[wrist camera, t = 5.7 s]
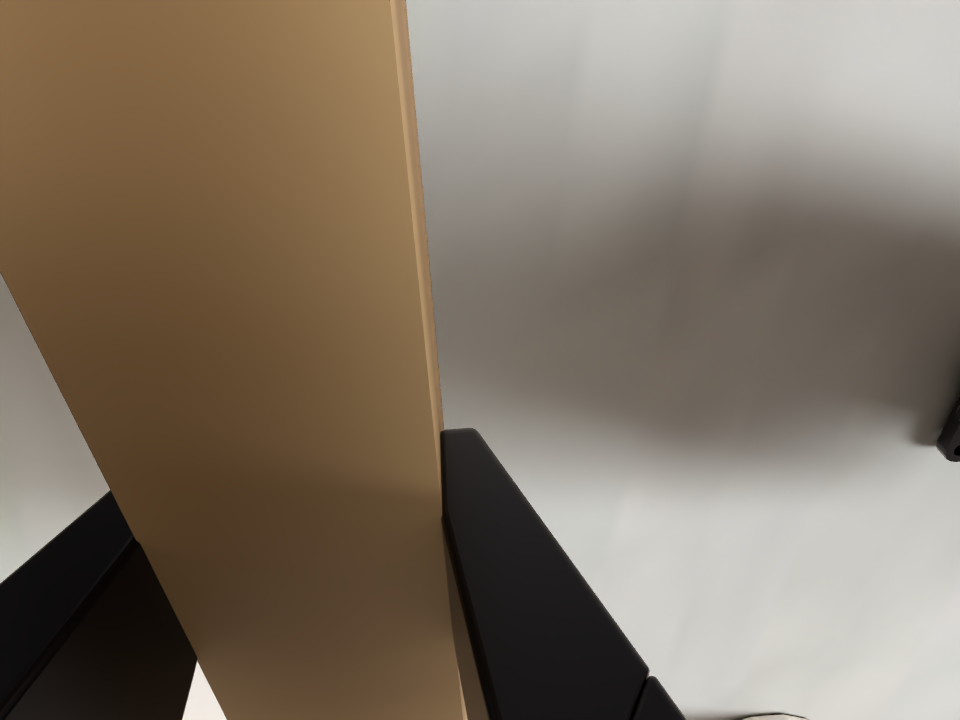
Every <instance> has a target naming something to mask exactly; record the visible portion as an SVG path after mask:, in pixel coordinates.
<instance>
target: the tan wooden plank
mask: <svg viewBox="0 0 960 720" xmlns="http://www.w3.org/2000/svg"><path fill="white" fill-rule="evenodd" d="M0 272H1V274H2V276H3V278H4V280H5V282H6V284H7V286H8V288H9V290H10V292H11V294H12V296H13V298H14V300H15V302H16V304H17V306H18V308H19V310H20V312H21V314H22V316H23V318H24V320H25V322H26V324H27V326H28V328H29V330H30V332H31V334H32V336H33V338H34V340H35V342H36V344H37V346H38V348H39V350H40V352H41V353H42V355H43V357H44V359H45V361H46V363H47V365H48V367H49V369H50V371H51V373H52V375H53V377H54V379H55V381H56V383H57V385H58V387H59V389H60V391H61V393H62V395H63V397H64V399H65V401H66V403H67V405H68V407H69V409H70V411H71V413H72V415H73V417H74V419H75V421H76V423H77V425H78V427H79V429H80V431H81V433H82V434H83V436H84V438H85V440H86V442H87V444H88V446H89V448H90V450H91V452H92V454H93V456H94V458H95V460H96V462H97V464H98V466H99V468H100V470H101V472H102V474H103V476H104V478H105V480H106V482H107V484H108V486H109V488H110V490H111V492H112V494H113V496H114V498H115V500H116V502H117V504H118V506H119V508H120V510H121V512H122V514H123V516H124V517H125V519H126V521H127V523H128V525H129V527H130V529H131V531H132V533H133V535H134V537H135V539H136V541H138V542H139V543H140V544H141V546H142V548H143V550H144V552H145V554H146V556H147V558H148V560H149V562H150V564H151V566H152V568H153V570H154V572H155V574H156V576H157V578H158V580H159V582H160V584H161V586H162V588H163V590H164V592H165V594H166V596H167V598H168V600H169V602H170V604H171V606H172V608H173V610H174V612H175V614H176V616H177V618H178V620H179V622H180V624H181V626H182V628H183V630H184V632H185V634H186V636H187V638H188V640H189V642H190V644H191V646H192V648H193V650H194V651H195V653H196V655H197V658H198V660H197V662H198V664H199V666H200V668H201V670H202V672H203V674H204V676H205V678H206V679H207V681H208V683H209V685H210V687H211V689H212V691H213V693H214V695H215V697H216V699H217V701H218V703H219V705H220V707H221V709H222V711H223V713H224V715H225V717H226V719H227V720H468V719H467V713H466V708H465V702H464V697H463V691H462V686H461V680H460V675H459V669H458V664H457V658H456V653H455V646H454V639H453V632H452V622H451V613H450V603H449V594H448V584H447V574H446V565H445V555H444V545H443V536H442V526H441V517H442V487H441V449H440V432H441V431H442V430H444V423H443V412H442V401H441V389H440V378H439V367H438V356H437V345H436V333H435V322H434V311H433V300H432V289H431V277H430V266H429V255H428V244H427V233H426V221H425V210H424V199H423V188H422V177H421V166H420V154H419V143H418V132H417V121H416V110H415V98H414V87H413V76H412V65H411V54H410V42H409V31H408V20H407V9H406V0H0Z"/></svg>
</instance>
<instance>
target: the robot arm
mask: <svg viewBox="0 0 960 720" xmlns="http://www.w3.org/2000/svg"><path fill="white" fill-rule="evenodd" d="M440 449H441V487H442V517H441V526H442V536H443V545H444V555H445V565H446V574H447V584H448V594H449V603H450V613H451V622H452V632H453V639H454V646H455V653H456V658H457V664H458V669H459V675H460V680H461V686H462V691H463V697H464V702H465V708H466V713H467V719H468V720H687V719H686V718H685V717H684V715H683V714H682V713H681V711H680V710H679V708H678V707H677V706H676V704H675V703H674V702H673V700H672V699H671V697H670V696H669V695H668V693H667V692H666V690H665V689H664V688H663V686H662V685H661V684H660V682H659V681H658V679H657V678H656V677H654V676H650V677H649V672H650V671H649V668H648V666H647V665H646V663H645V662H644V661H643V659H642V658H641V657H640V655H639V654H638V652H637V651H636V650H635V648H634V647H633V645H632V644H631V643H630V641H629V640H628V639H627V637H626V636H625V634H624V633H623V632H622V630H621V629H620V628H619V626H618V625H617V623H616V622H615V621H614V619H613V618H612V616H611V615H610V614H609V612H608V611H607V610H606V608H605V607H604V605H603V604H602V603H601V601H600V600H599V598H598V597H597V596H596V594H595V593H594V592H593V590H592V589H591V587H590V586H589V585H588V583H587V582H586V580H585V579H584V578H583V576H582V575H581V574H580V572H579V571H578V569H577V568H576V567H575V565H574V564H573V562H572V561H571V560H570V558H569V557H568V556H567V554H566V553H565V551H564V550H563V549H562V547H561V546H560V545H559V543H558V542H557V540H556V539H555V538H554V536H553V535H552V533H551V532H550V531H549V529H548V528H547V527H546V525H545V524H544V522H543V521H542V520H541V518H540V517H539V515H538V514H537V513H536V511H535V510H534V509H533V507H532V506H531V504H530V503H529V502H528V500H527V499H526V497H525V496H524V495H523V493H522V492H521V491H520V489H519V488H518V486H517V485H516V484H515V482H514V481H513V479H512V478H511V477H510V475H509V474H508V473H507V471H506V470H505V468H504V467H503V466H502V464H501V463H500V462H499V460H498V459H497V457H496V456H495V455H494V453H493V452H492V450H491V449H490V448H489V446H488V445H487V444H486V442H485V441H484V439H483V438H482V437H481V435H480V434H479V433H478V432H477V431H476V430H475V429H473V428H463V429H450V430H442V431H441V432H440ZM937 449H938V450H939V451H940V452H941V454H942V455H943V456H944V457H945V458H946V459H947V460H949V461H953V462H959V461H960V396H959V398H958V400H957V402H956V404H955V406H954V408H953V410H952V413H951V415H950V417H949V419H948V421H947V423H946V425H945V427H944V429H943V431H942V433H941V435H940V437H939V439H938V442H937ZM197 660H198V658H197V655H196V653H195V651H194V650H193V648H192V646H191V644H190V642H189V640H188V638H187V636H186V634H185V632H184V630H183V628H182V626H181V624H180V622H179V620H178V618H177V616H176V614H175V612H174V610H173V608H172V606H171V604H170V602H169V600H168V598H167V596H166V594H165V592H164V590H163V588H162V586H161V584H160V582H159V580H158V578H157V576H156V574H155V572H154V570H153V568H152V566H151V564H150V562H149V560H148V558H147V556H146V554H145V552H144V550H143V548H142V546H141V544H140V543H139V542H138V541H136V539H135V537H134V535H133V533H132V531H131V529H130V527H129V525H128V523H127V521H126V519H125V517H124V516H123V514H122V512H121V510H120V508H119V506H118V504H117V502H116V500H115V498H114V496H113V494H112V492H111V490H110V491H109V492H108V493H106V494H105V495H104V496H103V497H102V498H100V499H99V500H98V501H97V502H96V503H95V504H93V505H92V506H91V507H90V508H89V509H87V510H86V511H85V512H84V513H83V514H82V515H80V516H79V517H78V518H77V519H76V520H75V521H73V522H72V523H71V524H70V525H69V526H67V527H66V528H65V529H64V530H63V531H62V532H60V533H59V534H58V535H57V536H56V537H55V538H53V539H52V540H51V541H50V542H49V543H47V544H46V545H45V546H44V547H43V548H42V549H40V550H39V551H38V552H37V553H36V554H35V555H33V556H32V557H31V558H30V559H29V560H27V561H26V562H25V563H24V564H23V565H22V566H20V567H19V568H18V569H17V570H16V571H15V572H13V573H12V574H11V575H10V576H9V577H7V578H6V579H5V580H4V581H3V582H2V583H0V720H182V719H183V715H184V711H185V707H186V703H187V700H188V696H189V692H190V688H191V684H192V681H193V677H194V672H195V668H196V664H197Z"/></svg>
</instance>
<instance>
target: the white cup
mask: <svg viewBox="0 0 960 720" xmlns="http://www.w3.org/2000/svg"><path fill="white" fill-rule="evenodd" d="M742 720H808V719H804V718H799V717H795V716H789V715H783V714H782V715H766V716H756V717H749V718H745V719H742Z"/></svg>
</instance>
